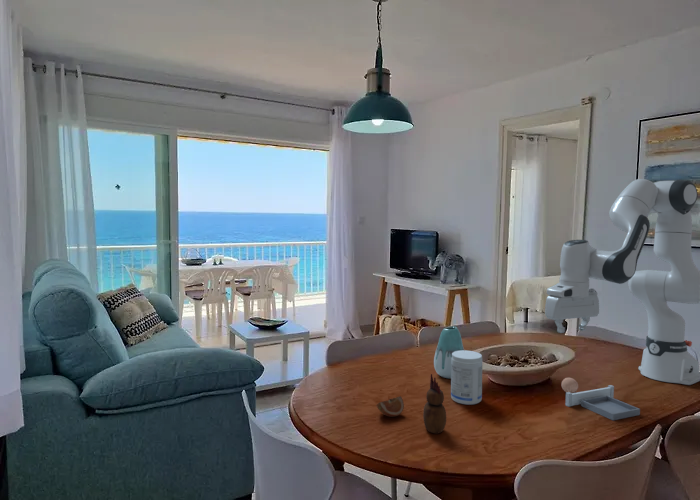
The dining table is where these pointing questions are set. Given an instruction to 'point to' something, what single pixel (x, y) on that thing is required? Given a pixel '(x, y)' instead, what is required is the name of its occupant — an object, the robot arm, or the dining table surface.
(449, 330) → the vase
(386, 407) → the fruit slice
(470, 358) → the supplement tub
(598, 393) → the wall
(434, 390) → the wooden figurine
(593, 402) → the dish
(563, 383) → the ball
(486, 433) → the dining table surface
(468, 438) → the dining table surface
